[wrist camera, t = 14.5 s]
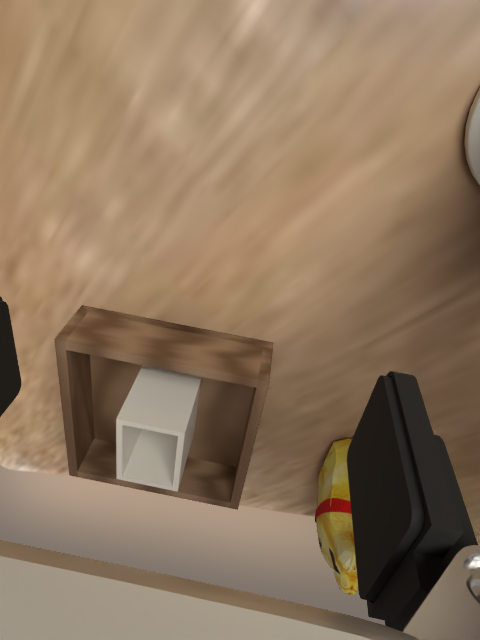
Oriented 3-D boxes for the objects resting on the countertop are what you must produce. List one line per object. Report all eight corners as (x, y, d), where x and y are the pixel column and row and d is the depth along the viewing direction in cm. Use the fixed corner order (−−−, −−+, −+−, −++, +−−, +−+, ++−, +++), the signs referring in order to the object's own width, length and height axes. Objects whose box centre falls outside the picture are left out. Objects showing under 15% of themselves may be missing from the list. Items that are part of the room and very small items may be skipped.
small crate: (201, 376, 48) (185, 433, 41) (194, 433, 53) (177, 491, 46) (142, 364, 48) (116, 419, 41) (140, 422, 53) (116, 478, 46)
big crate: (273, 342, 45) (269, 381, 40) (243, 467, 56) (237, 509, 51) (82, 305, 46) (54, 339, 41) (90, 436, 57) (69, 475, 52)
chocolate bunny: (307, 487, 57) (307, 615, 45) (330, 429, 51) (338, 558, 38) (359, 498, 57) (374, 629, 44) (389, 441, 51) (416, 575, 38)
